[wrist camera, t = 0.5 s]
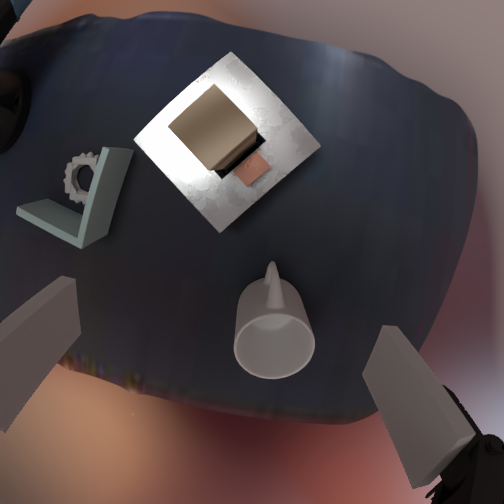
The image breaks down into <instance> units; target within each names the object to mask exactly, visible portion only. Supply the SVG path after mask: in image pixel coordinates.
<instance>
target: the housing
mask: <svg viewBox="0 0 504 504" xmlns="http://www.w3.org/2000/svg"><path fill="white" fill-rule="evenodd" d="M213 84H215V85H216V86H217V87H219V88H220V89H221V90H222V91H223V92H224V93H225V94H226V95H227V96H228V97H229V98H230V100H231V101H232V102H233V103H234V104H235V105H236V106H237V107H238V108H239V109H240V110H241V111H242V112H243V113H244V114H245V115H246V116H247V117H248V118H249V119H250V120H251V121H252V122H253V123H254V125H255V126H256V127H257V128H258V129H257V136H256V137H257V138H258V139H259V140H260V141H261V142H262V143H263V144H262V145H261V146H260V147H259V148H257V149H256V150H255V151H254V152H253V153H252V154H250V155H249V156H248V157H247V158H246V159H245V160H243V161H242V162H241V163H240V164H239V165H238V166H237V167H235V168H234V169H233V170H232V171H231V172H230V173H229V174H228V175H227V176H225V175H224V173H223V172H222V171H221V170H213V171H208V170H207V169H206V168H205V167H204V166H203V165H202V163H201V162H200V161H199V160H198V159H197V158H196V157H195V156H194V155H193V154H192V153H191V152H190V151H189V149H188V148H187V147H186V146H185V145H184V144H183V143H182V142H181V141H180V140H179V139H178V138H177V137H176V136H175V135H174V134H173V132H172V131H171V130H170V129H169V128H168V127H167V126H168V125H169V124H170V123H171V122H172V121H173V120H174V119H175V118H176V117H177V116H178V115H179V114H180V113H181V112H182V111H183V110H185V109H186V108H187V107H188V106H189V105H190V104H191V103H192V102H193V101H195V100H196V99H197V98H198V97H199V96H200V95H201V94H203V93H204V92H205V91H206V90H207V89H208V88H210V87H211V86H212V85H213ZM134 141H135V142H136V143H137V144H138V145H139V146H140V147H141V148H142V149H143V151H144V152H145V153H146V154H147V155H148V156H149V157H150V158H151V159H152V160H153V162H154V163H155V164H156V165H157V166H158V167H159V168H160V169H161V170H162V171H163V172H164V174H165V175H166V176H167V177H168V178H169V179H170V180H171V181H172V182H173V183H174V184H175V185H176V187H177V188H178V189H179V190H180V191H181V192H182V193H183V194H184V195H185V196H186V197H187V199H188V200H189V201H190V202H191V203H192V204H193V205H194V206H195V207H196V208H197V209H198V210H199V211H200V213H201V214H202V215H203V216H204V217H205V218H206V219H207V220H208V221H209V222H210V223H211V224H212V225H213V227H214V228H215V229H216V230H217V231H218V232H219V233H221V232H222V231H223V230H224V229H225V228H226V227H227V226H229V225H230V224H231V223H232V222H233V221H234V220H235V219H236V218H238V217H239V216H240V215H241V214H242V213H243V212H244V211H245V210H247V209H248V208H249V207H250V206H251V205H252V204H254V203H255V202H256V201H257V200H258V199H259V198H260V197H262V196H263V195H264V194H265V193H266V192H267V191H268V190H270V189H271V188H272V187H273V186H274V185H275V184H277V183H278V182H279V181H280V180H281V179H283V178H284V177H285V176H286V175H287V174H288V173H290V172H291V171H292V170H293V169H294V168H295V167H297V166H298V165H299V164H300V163H301V162H303V161H304V160H305V159H306V158H307V157H309V156H310V155H311V154H312V153H313V152H315V151H316V150H317V149H318V148H319V147H321V145H320V144H319V143H318V142H317V141H316V140H315V138H314V137H313V136H312V135H311V134H310V133H309V131H308V130H307V129H306V128H305V127H304V126H303V124H302V123H301V122H300V121H299V120H298V119H297V118H296V117H295V116H294V114H293V113H292V112H291V111H290V110H289V109H288V108H287V107H286V106H285V105H284V104H283V102H282V101H281V100H280V99H279V98H278V97H277V96H276V95H275V94H274V93H273V92H272V91H271V90H270V89H269V88H268V87H267V86H266V85H265V84H264V83H263V82H262V81H261V80H260V79H259V78H258V77H257V76H256V75H255V74H254V73H253V72H252V71H251V70H250V69H249V68H248V67H247V66H246V65H245V64H244V63H243V62H242V61H241V60H240V59H238V58H237V57H236V56H235V55H234V54H233V53H232V52H230V53H228V54H227V55H226V56H225V57H223V58H222V59H221V60H219V61H218V62H217V63H216V64H214V65H213V66H212V67H211V68H209V69H208V70H207V71H206V72H205V73H203V74H202V75H201V76H200V77H199V78H197V79H196V80H195V81H194V82H193V83H192V84H190V85H189V86H188V87H187V88H186V89H185V90H184V91H182V92H181V93H180V94H179V95H178V96H177V97H176V98H175V99H174V100H173V101H172V102H170V103H169V104H168V105H167V106H166V107H165V108H164V109H163V110H162V111H161V112H160V113H159V114H158V115H157V116H156V117H155V118H154V119H153V120H152V121H151V122H150V123H149V124H148V125H147V126H146V127H145V128H144V129H143V130H142V131H141V132H140V133H139V134H138V135H137V136H136V137H135V138H134Z"/></svg>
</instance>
